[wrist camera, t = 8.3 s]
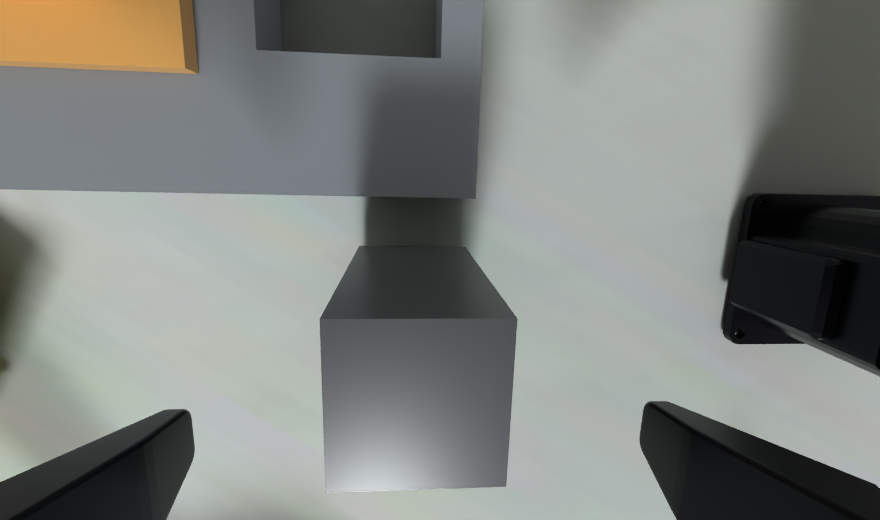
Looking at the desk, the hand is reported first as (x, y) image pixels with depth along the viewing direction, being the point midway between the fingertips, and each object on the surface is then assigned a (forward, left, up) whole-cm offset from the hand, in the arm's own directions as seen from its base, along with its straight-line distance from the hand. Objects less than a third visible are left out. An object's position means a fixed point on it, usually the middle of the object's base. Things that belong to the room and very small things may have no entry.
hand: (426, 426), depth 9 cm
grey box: (0, 0, -10) cm, 10 cm away
